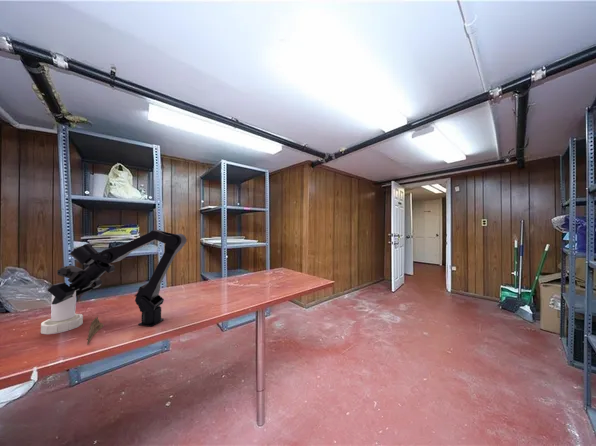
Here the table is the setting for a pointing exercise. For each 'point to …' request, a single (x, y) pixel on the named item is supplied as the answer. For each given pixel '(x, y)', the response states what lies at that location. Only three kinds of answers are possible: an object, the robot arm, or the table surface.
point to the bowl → (61, 325)
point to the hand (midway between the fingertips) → (60, 301)
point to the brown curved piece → (94, 328)
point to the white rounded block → (63, 309)
